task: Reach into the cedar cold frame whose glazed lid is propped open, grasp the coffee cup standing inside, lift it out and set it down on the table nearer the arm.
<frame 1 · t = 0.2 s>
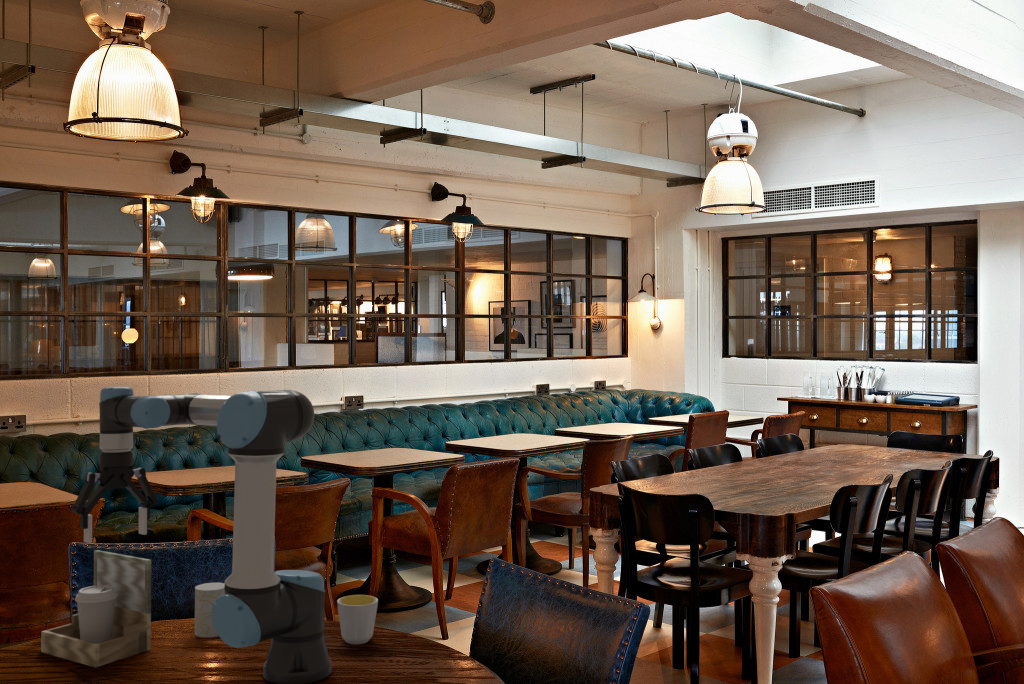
hand: (115, 538, 225), 28 cm above the table, fingers open, 13 cm apart
mug: (358, 639, 237), on the table
white cylinder: (211, 633, 241), on the table
cold frame: (96, 650, 226), on the table
coffee cup: (96, 651, 226), resting in cold frame
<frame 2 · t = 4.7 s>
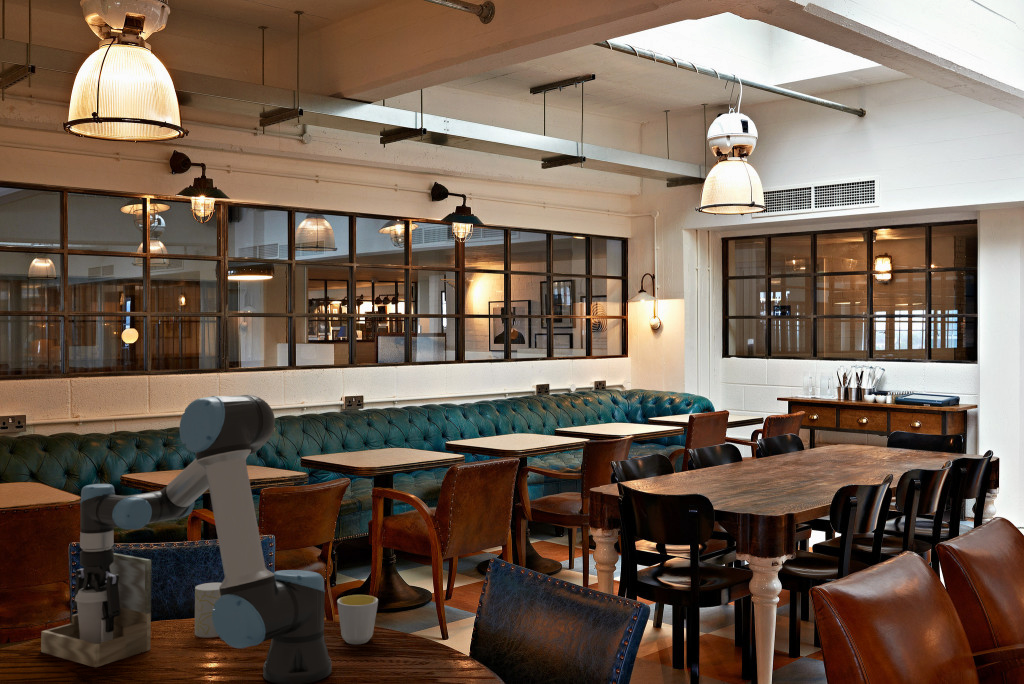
hand: (96, 642, 226), 2 cm above the table, fingers closed on coffee cup, 7 cm apart
coffee cup: (95, 651, 226), resting in cold frame, touching gripper
everything else where it was.
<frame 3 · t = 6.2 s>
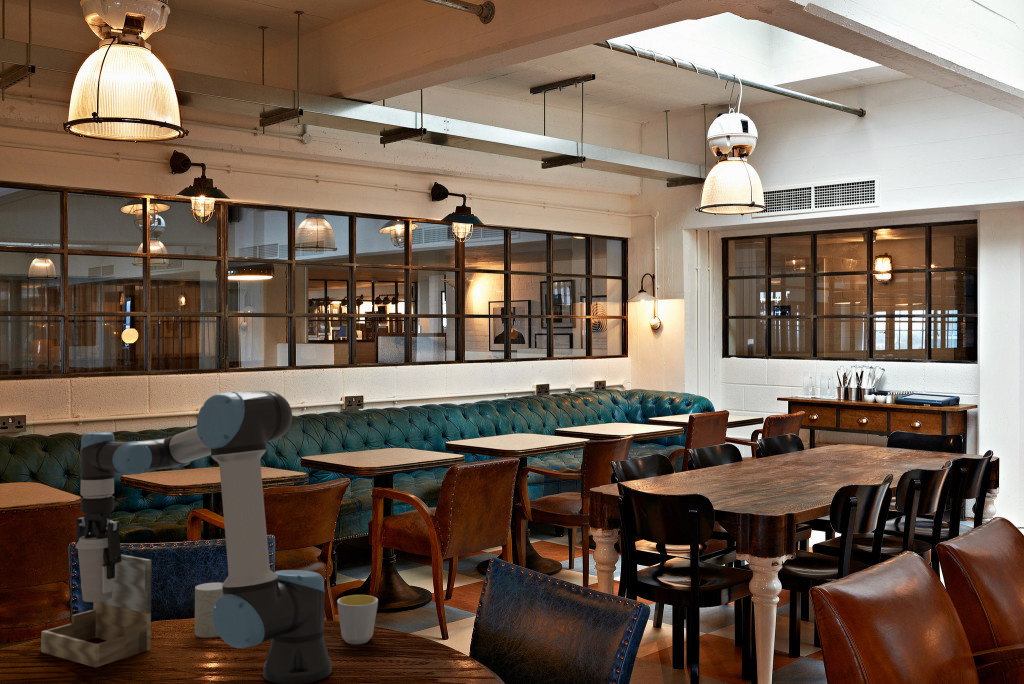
hand: (97, 589, 226), 15 cm above the table, fingers closed on coffee cup, 7 cm apart
coffee cup: (97, 599, 226), point 13 cm above the table, touching gripper
everything else where it was.
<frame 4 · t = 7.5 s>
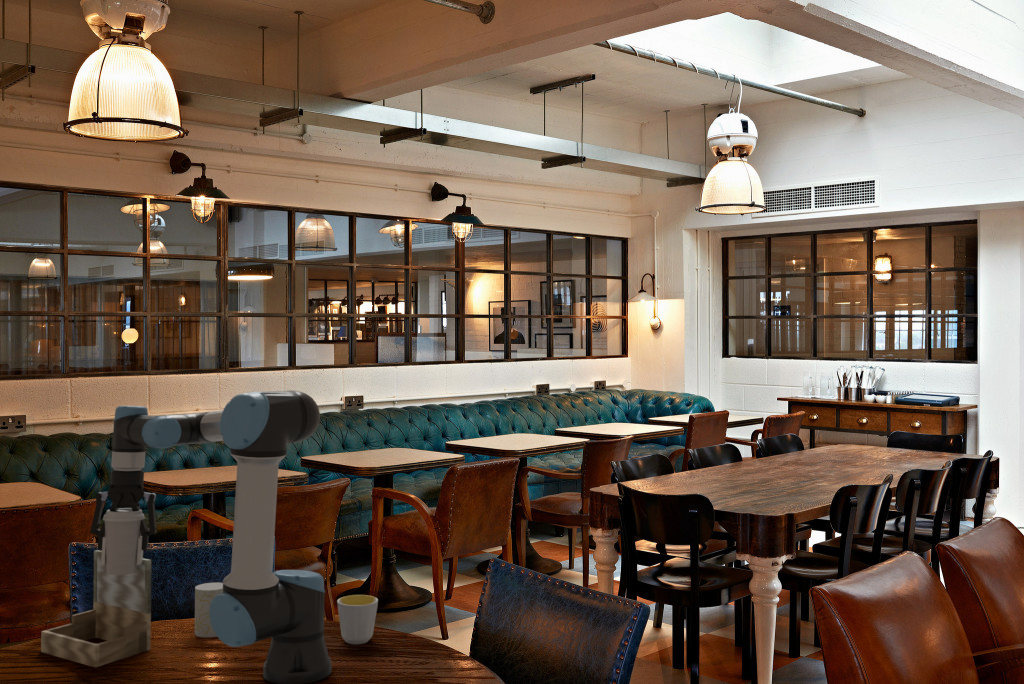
hand: (122, 563, 225), 22 cm above the table, fingers closed on coffee cup, 7 cm apart
coffee cup: (121, 573, 225), point 19 cm above the table, touching gripper
everything else where it was.
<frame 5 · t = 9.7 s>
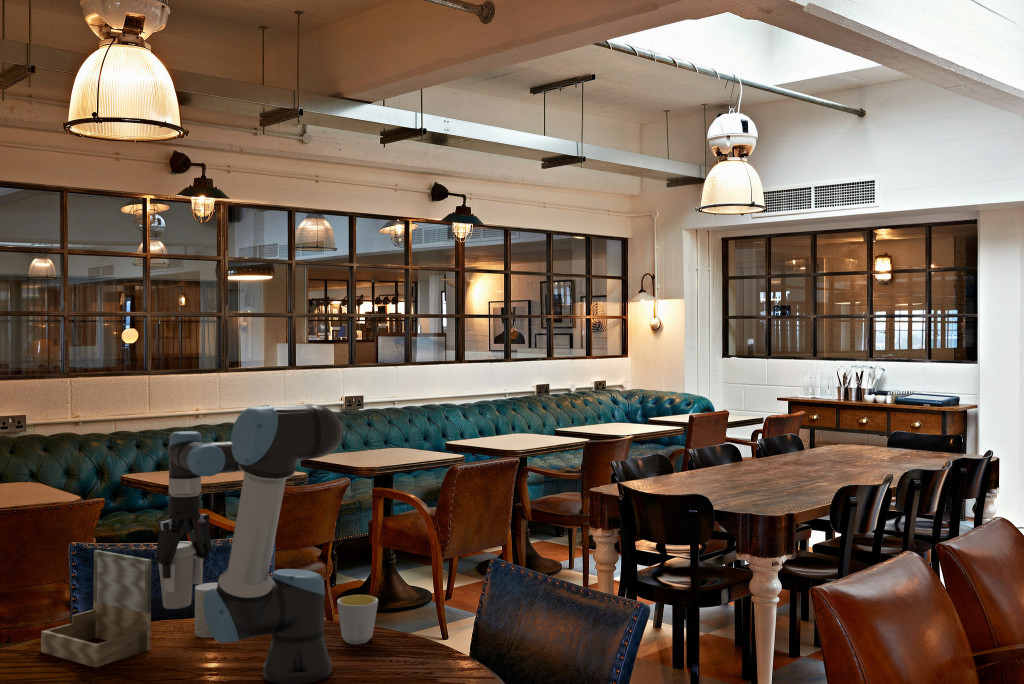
hand: (183, 587, 228), 15 cm above the table, fingers closed on coffee cup, 8 cm apart
coffee cup: (177, 605, 230), point 10 cm above the table, touching gripper
everything else where it was.
when the fingers open (5 cm above the table, at t = 11.3 s): coffee cup stays where it is, on the table.
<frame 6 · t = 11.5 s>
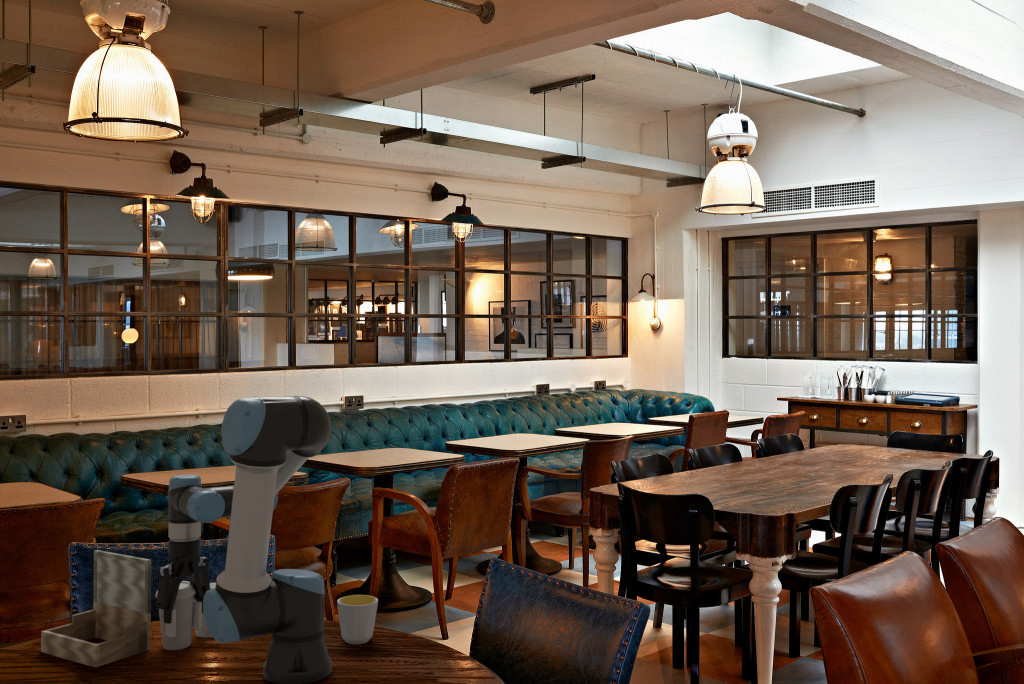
hand: (183, 631, 228), 4 cm above the table, fingers open, 7 cm apart
coffee cup: (176, 646, 230), on the table, touching gripper
everything else where it was.
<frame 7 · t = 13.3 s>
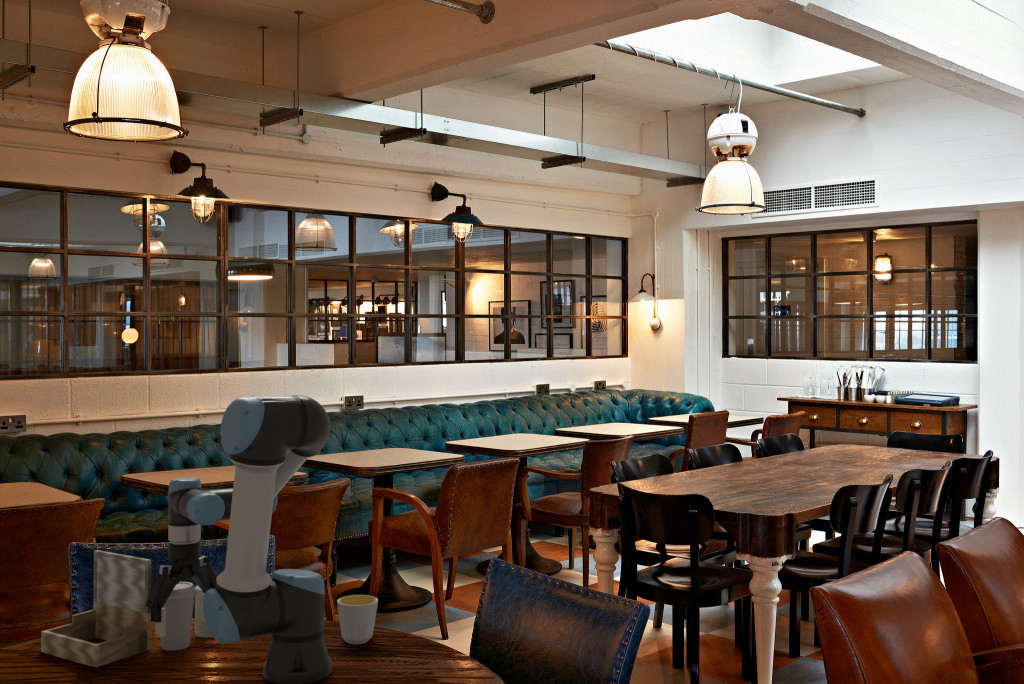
hand: (183, 628, 228), 5 cm above the table, fingers open, 13 cm apart
coffee cup: (175, 647, 230), on the table
everything else where it was.
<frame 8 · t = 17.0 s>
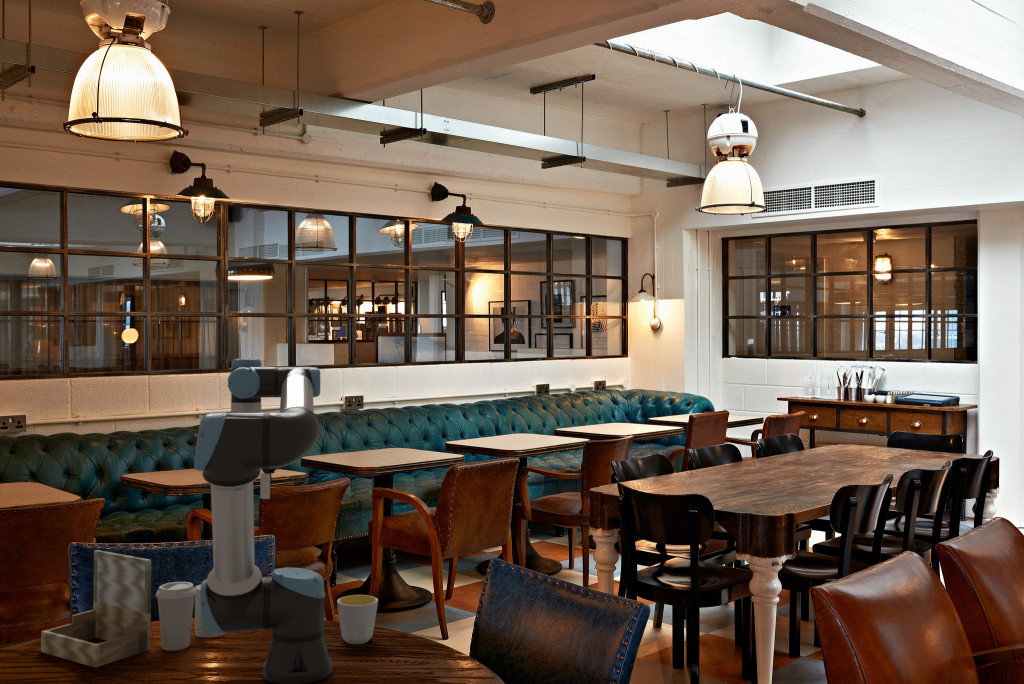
hand: (245, 502, 237), 35 cm above the table, fingers open, 13 cm apart
nothing on the table moved.
at the end: coffee cup inside the target area (3.6 cm from its centre), on the table; coffee cup tilted 0°; the gripper is holding nothing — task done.
